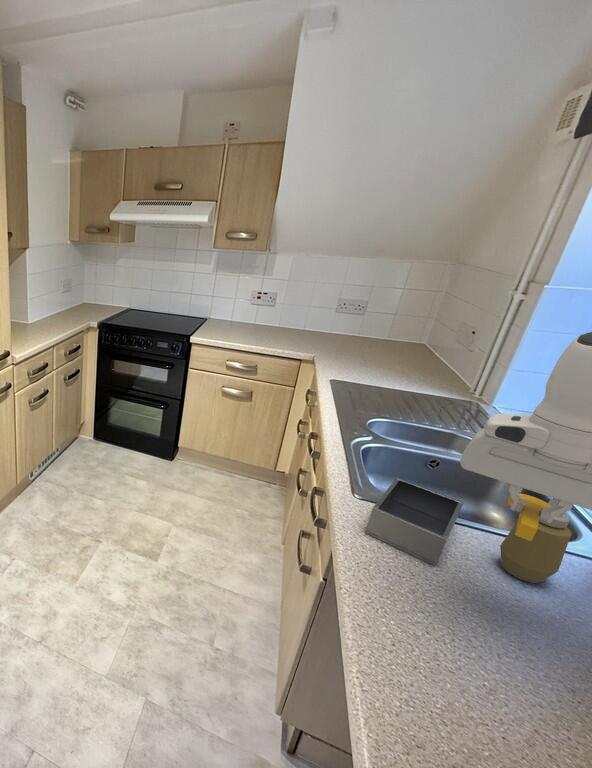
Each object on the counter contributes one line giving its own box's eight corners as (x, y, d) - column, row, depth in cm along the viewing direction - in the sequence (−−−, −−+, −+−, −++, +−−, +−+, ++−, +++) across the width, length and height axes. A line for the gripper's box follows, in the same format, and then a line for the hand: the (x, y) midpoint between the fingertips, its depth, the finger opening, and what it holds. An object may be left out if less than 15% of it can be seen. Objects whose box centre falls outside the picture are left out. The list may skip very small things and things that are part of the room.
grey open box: (388, 500, 103) (396, 477, 101) (453, 526, 94) (463, 502, 92) (364, 533, 92) (372, 507, 89) (435, 566, 83) (447, 539, 80)
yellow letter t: (551, 510, 70) (557, 498, 69) (547, 547, 62) (554, 534, 61) (508, 496, 74) (514, 484, 73) (499, 529, 65) (505, 517, 64)
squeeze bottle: (557, 595, 77) (603, 516, 70) (499, 576, 81) (538, 500, 74) (541, 567, 83) (582, 493, 77) (488, 551, 87) (522, 479, 81)
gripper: (681, 460, 56) (630, 540, 61) (480, 411, 70) (452, 479, 75) (689, 477, 52) (634, 561, 57) (474, 421, 66) (445, 493, 71)
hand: (529, 514), depth 66 cm, fingers closed on yellow letter t, 2 cm apart
